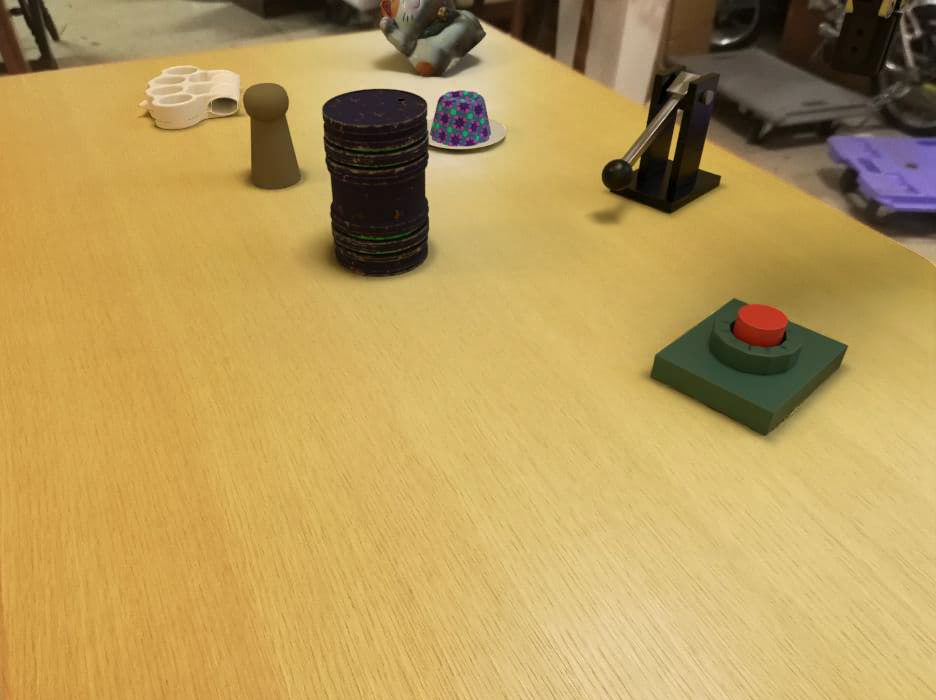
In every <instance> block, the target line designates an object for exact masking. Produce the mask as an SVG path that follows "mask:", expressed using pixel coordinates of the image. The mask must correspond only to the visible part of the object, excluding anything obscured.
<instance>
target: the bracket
mask: <svg viewBox="0 0 936 700" xmlns="http://www.w3.org/2000/svg"><path fill="white" fill-rule="evenodd" d="M681 71H684V72H687V65H685V64H679V63H678V64H676V65H673V66H670V67H669V68H665V69H664V70H661V71H658V72H656V73H655V74H654V79H653V85H652V91H651V97H650V102H649V108H648V114H647V119H646V124H645V125H646V126H645V129H646V128H647V127H648V125H649V124H650V123H651V122H652V120H653V119H654V118H655V117H656V115H657V114H658V113H659V112H660V110H661V109H662V108H663V107H664V105H665V104H666V103H667V102H668V96H667V89H668V88H669V86H670V85H671V84H672V83H673V81H674V80H675V79H676V78H677V76H678V75H679V74H680V73H681ZM720 78H721V74H720V73H717V72H713V71H712V72H709V73H707V74H705V75H703V76H700V78H698V79H696V80H693V81H691V82H689V86H688V91H687V95H686V100H685V105H684V110H682V116H681V121H680V124H679V130H678V135H677V139H676V145H675V149H674V155H673V159H669V156H670V152H671V151H670V150H671V146H672V141H673V135H674V133H675V132H674V131H675V126H676V121H677V117H678V111H679V109H678V110H677V112H676V113H675V114H674V115H673V117H672V118H671V119H670V120H669V122H668V123H667V124H666V125H665V127H664V128H663V129H662V130H661V132H660V133H659V134H658V135H657V137H656V138H655V139H654V140H653V142H652V143H651V144H650V145H649V147H648V148H647V149H646V150H645V152H644V153H643V154H642V155H641V157H640V158H639V164H638V168H636V169H635V170H633V178H632V181H631V183H630V184H629V185H628V186H627V187H626V188H624V189H622V190H619V191H613V190H610V189H609V192H610V193H612V194H616V195H617V196H621V197H624V198H626V199H629V200H632V201H634V202H637V203H641V204H643V205H646V206H648V207H651V208H654V209H656V210H659V211H663V212H665V213H667V214H672V213H674V212H676V211H678V210H679V209H681V208H682V207H684V206H686V205H688V204H690V203H691V202H693V201H695V200H696V199H699V198H700V197H702V196H704V195H705V194H707V193H710V191H713V190H714V189H715V188H717V187H719V186H720V183H721V179H722V175H720V174H716V173H713V172H710V171H707V170H705V169H701V168H700V165H701V161H702V156H703V151H704V147H705V143H706V139H707V134H708V129H709V126H710V121H711V116H712V112H713V109H714V103H715V99H716V95H717V90H718V86H719V82H720Z"/></svg>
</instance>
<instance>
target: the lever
mask: <svg viewBox="0 0 936 700" xmlns="http://www.w3.org/2000/svg"><path fill="white" fill-rule="evenodd" d="M700 77H701V75H700V74H696V73H691V72H687V71H686V72H684V71H681V73H680V74H679V75H678V76H677V78H676V79H675V80H674V81H673V83H672V84H671V85H670V86H669V88H668V89H667V96H668V102H667V103H666V104H665V105H664V107H663V108H662V109H661V110H660V112H659V113H658V114H657V115H656V117H655V118H654V119H653V120H652V122H651V123H650V124H649V125H648V127H647V128H646V127H645V129H644V130H643V132H642V133H641V134H640V135H639V136H638V138H637V139H636V140H635V141H634V143H633V144H632V145H631V147H629V149H628V150H627V152H626V153H625V154H624V155H623V157H621V158H616V159H612V160H609V161H608V162H607V163H606V164H605V165H604V166H603V168H602V171H601V181H602V184H603V185H604V186H605V188H607V190H609V191H610V190H613V191H619V190H622V189H624V188H626V187H627V186H628V185H629V184H630V183H631V181H632V178H633V171H634V170H633V167H634V166H635V164H636V163H637V162H638V160H640V158H641V155H642V154H643V153H644V152H645V150H646V149H647V148H648V147H649V145H650V144H651V143H652V142H653V140H654V139H655V138H656V137H657V135H658V134H659V133H660V132H661V130H662V129H663V128H664V127H665V125H666V124H667V123H668V122H669V120H670V119H671V118H672V117H673V115H674V114H675V113H676V112H677V110H678V111H679V110H680V111H683V110H684V105H685V100H686V95H687V91H688V86H689V82H691V81H693V80H696V79H698V78H700ZM677 113H678V112H677Z"/></svg>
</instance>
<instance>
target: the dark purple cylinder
mask: <svg viewBox="0 0 936 700" xmlns="http://www.w3.org/2000/svg"><path fill="white" fill-rule="evenodd" d="M321 116H322V120H323V125H322V126H323V137H322V139H323V148H324V152H325V157H324V158H325V159H324V162H325V164H326V170H327V171H328V173H329V175H330V187H331V198H332V201H331V203H330V206H329V207H330V212H329V216H330V217H329V218H330V219H331V220H330V225H331V226H330V227H331V235H332V238H333V243H334V246H335V247H334V256H335V260H336V262H337V264H338V265H339V266H341V267H342V268H343V269H345V270H347V271H349V272H351V273H353V274H357V275H361V276H367V277H391V276H396V275H401V274H404V273H405V274H406V273H408V272H409V271H410V272H411V271H412V270H414V269H416V268H418V267H419V266H421V265H422V264H423V263H424V262H425V261H426V259H427V258H428V255H429V244H428V240H429V232H430V216H429V212H430V207H429V200H428V198H427V196H426V169H427V167H428V164H429V159H430V153H429V146H430V144H429V132H428V130H427V121H428V118H427V117H428V102H427V100H426V99H425V98H424V97H423V96H421V95H419V94H417V93H415V92H410V91H407V90H403V89H402V90H401V89H395V88H366V89H365V88H363V89H357V90H351V91H348V92H343V93H341V94H338V95H335V96H333V97H331V98H329V99H328V100H326V101H325V102H324V103H323V104H322V108H321Z"/></svg>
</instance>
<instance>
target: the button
mask: <svg viewBox="0 0 936 700" xmlns="http://www.w3.org/2000/svg"><path fill="white" fill-rule="evenodd" d="M748 304H749V305H745V306H743V307H742V308H741V309H740V310H739V312H738V315H737V318H736V321H735V325H734V328H733V333H734V335H735V337H736V338H737V339H738V340H741V341H743V342H745V343H747V344H750V345H752V346H759V347H765V348H767V347H773V346H776V345H778V344H779V343H780V342H781V340H782V338H783V335H784V332H785V329H786V326H787V323H788V320H789V319H788V316H787V315H786V314H785V313H784V312H783V311H782V310H780V309H778V308H777V307H775V306H772V305H768V304H764V303H763V304H762V303H748Z"/></svg>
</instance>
